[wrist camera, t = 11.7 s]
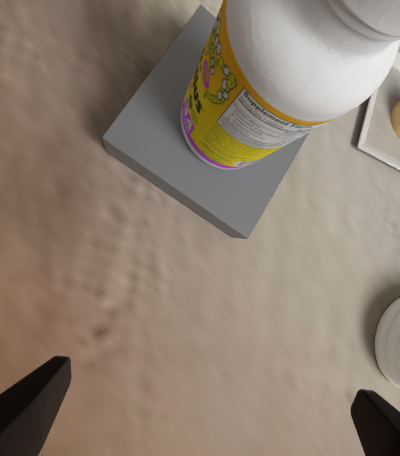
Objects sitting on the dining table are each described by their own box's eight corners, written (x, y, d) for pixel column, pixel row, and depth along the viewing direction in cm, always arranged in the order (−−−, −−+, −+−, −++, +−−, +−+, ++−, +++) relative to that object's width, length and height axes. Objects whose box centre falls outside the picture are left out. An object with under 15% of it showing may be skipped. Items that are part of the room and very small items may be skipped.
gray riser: (231, 237, 21) (247, 238, 18) (106, 152, 18) (102, 137, 15) (295, 128, 23) (319, 114, 20) (190, 36, 20) (200, 4, 17)
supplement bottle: (200, 61, 17) (380, -369, 5) (276, 110, 19) (555, -118, 6) (162, 144, 16) (259, -115, 4) (244, 188, 18) (493, 98, 6)
